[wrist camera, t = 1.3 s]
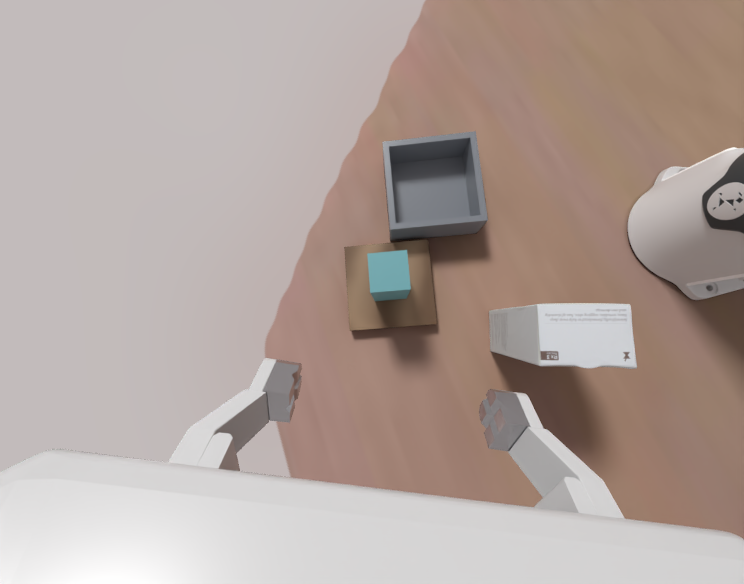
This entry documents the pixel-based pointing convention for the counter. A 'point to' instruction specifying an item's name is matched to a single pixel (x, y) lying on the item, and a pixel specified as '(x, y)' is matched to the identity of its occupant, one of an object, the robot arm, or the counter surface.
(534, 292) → the counter surface
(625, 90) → the counter surface
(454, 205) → the bin
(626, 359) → the skincare box
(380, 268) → the strut
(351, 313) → the brown wooden lid
